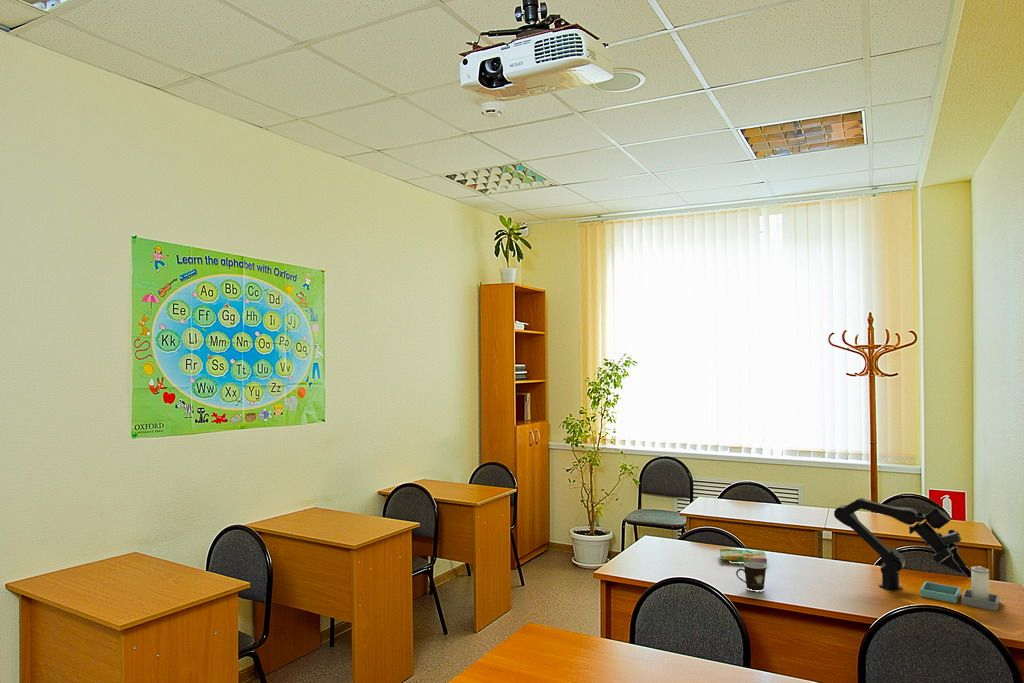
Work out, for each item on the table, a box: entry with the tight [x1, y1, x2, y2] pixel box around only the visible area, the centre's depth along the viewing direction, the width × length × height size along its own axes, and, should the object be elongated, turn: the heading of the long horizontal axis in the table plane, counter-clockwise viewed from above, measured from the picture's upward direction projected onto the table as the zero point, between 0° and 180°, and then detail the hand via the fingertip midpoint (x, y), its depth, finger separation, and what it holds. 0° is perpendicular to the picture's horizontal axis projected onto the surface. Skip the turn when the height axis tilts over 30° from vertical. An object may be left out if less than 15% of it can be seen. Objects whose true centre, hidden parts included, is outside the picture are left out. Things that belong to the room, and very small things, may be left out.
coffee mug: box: [735, 562, 767, 590], centre depth 278 cm, size 12×9×10 cm
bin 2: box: [960, 588, 1001, 612], centre depth 260 cm, size 11×11×4 cm
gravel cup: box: [970, 565, 990, 601], centre depth 260 cm, size 6×6×14 cm
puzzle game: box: [719, 548, 768, 565], centre depth 316 cm, size 12×5×20 cm
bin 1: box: [919, 581, 962, 604], centre depth 268 cm, size 12×12×4 cm
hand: (963, 569), depth 264 cm, fingers open, 9 cm apart
